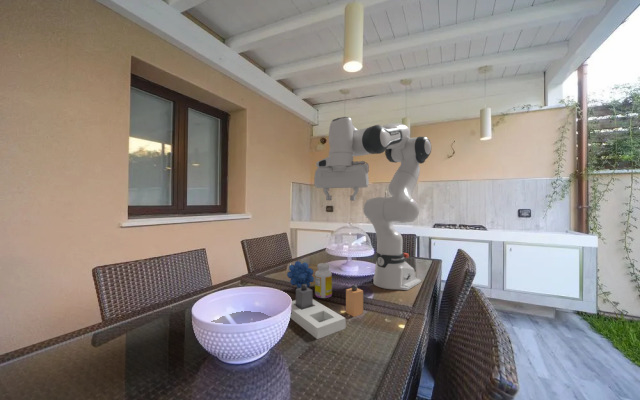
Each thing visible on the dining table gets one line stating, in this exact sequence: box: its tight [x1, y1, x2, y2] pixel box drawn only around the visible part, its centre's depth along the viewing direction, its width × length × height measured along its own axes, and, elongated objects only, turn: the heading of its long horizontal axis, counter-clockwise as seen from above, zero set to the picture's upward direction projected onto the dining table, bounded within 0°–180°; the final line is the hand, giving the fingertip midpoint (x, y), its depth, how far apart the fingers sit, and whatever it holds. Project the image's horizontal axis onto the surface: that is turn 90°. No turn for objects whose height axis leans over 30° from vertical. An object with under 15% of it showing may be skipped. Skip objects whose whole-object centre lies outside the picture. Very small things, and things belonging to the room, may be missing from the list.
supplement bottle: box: [314, 262, 333, 299], centre depth 102 cm, size 7×7×13 cm
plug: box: [345, 284, 364, 318], centre depth 86 cm, size 4×4×10 cm
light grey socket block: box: [290, 298, 347, 340], centre depth 81 cm, size 10×20×4 cm, turn 35°
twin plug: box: [295, 284, 314, 310], centre depth 85 cm, size 4×4×10 cm
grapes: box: [286, 260, 315, 289], centre depth 110 cm, size 12×7×12 cm, turn 104°
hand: (340, 200), depth 95 cm, fingers open, 8 cm apart
